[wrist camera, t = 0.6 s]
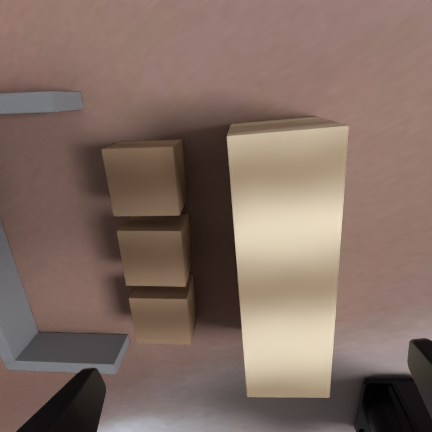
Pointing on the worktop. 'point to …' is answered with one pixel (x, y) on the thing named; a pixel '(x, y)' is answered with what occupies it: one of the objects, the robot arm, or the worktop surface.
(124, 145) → the walnut chip
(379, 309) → the worktop surface
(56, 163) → the worktop surface
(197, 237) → the worktop surface
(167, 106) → the worktop surface
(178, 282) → the block
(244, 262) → the block
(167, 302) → the walnut chip
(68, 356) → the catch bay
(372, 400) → the robot arm
